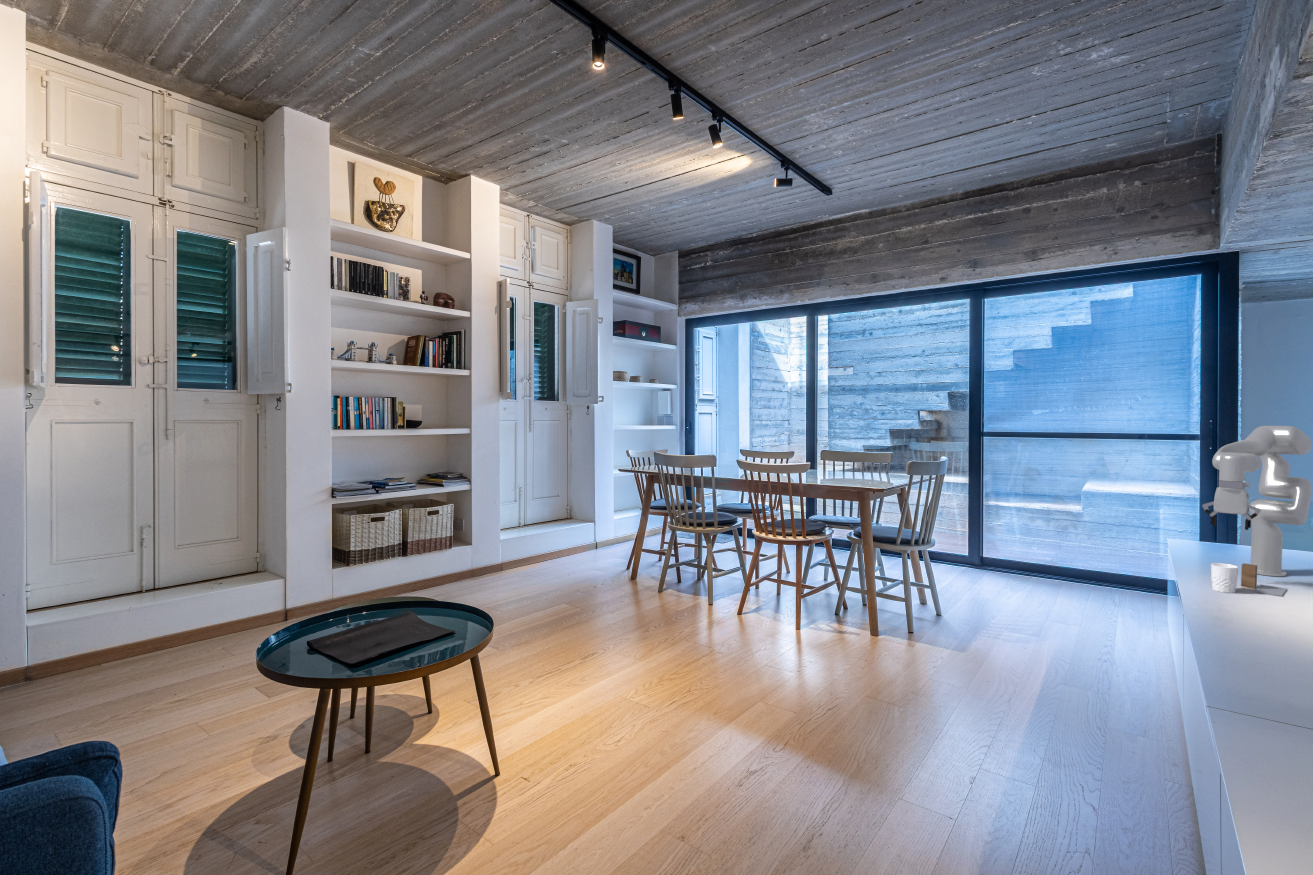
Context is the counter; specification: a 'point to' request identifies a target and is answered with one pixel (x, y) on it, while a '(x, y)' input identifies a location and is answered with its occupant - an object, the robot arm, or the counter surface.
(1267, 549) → the robot arm
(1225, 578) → the white cup
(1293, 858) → the counter surface
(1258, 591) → the mat
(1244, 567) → the block
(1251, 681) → the counter surface
